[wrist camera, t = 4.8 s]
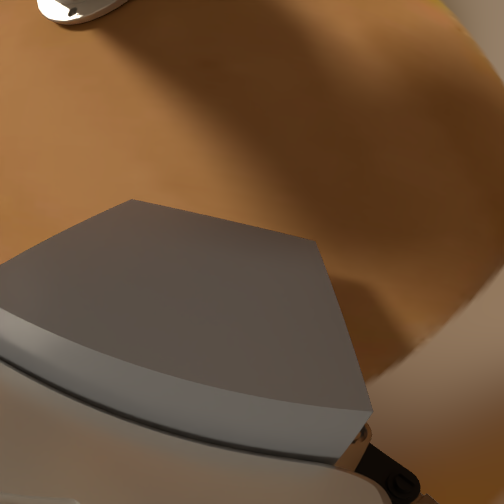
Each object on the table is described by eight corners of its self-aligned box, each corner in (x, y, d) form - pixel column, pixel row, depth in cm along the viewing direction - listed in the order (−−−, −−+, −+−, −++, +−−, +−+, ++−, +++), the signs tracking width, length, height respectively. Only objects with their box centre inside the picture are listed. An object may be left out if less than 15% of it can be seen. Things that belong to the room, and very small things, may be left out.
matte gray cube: (131, 199, 12) (-36, 287, 4) (315, 241, 12) (373, 411, 4) (123, 345, 15) (40, 476, 7) (268, 383, 15) (257, 545, 7)
